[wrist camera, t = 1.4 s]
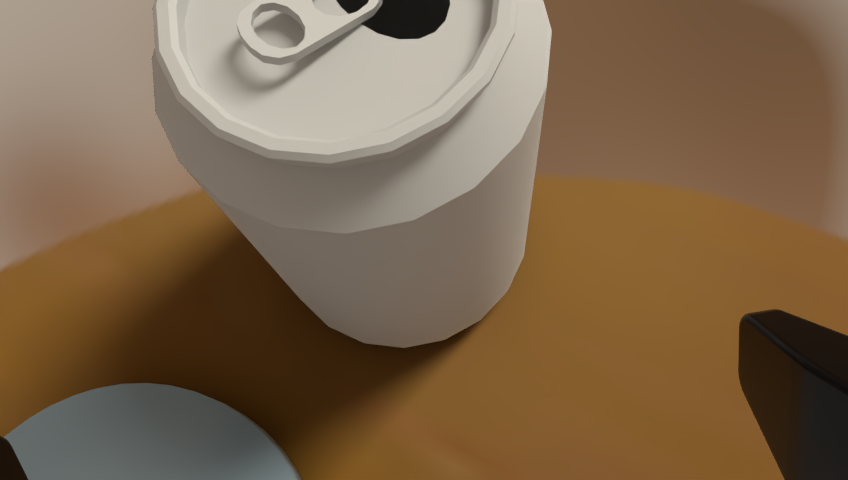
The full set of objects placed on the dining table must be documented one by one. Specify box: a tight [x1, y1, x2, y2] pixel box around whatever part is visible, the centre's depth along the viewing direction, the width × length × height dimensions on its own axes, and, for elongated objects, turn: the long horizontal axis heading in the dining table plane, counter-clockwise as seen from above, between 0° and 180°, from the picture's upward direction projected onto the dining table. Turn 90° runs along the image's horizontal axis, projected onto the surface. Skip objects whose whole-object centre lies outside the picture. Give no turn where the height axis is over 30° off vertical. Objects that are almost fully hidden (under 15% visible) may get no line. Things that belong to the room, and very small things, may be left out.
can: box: [152, 0, 552, 348], centre depth 18 cm, size 8×8×12 cm
